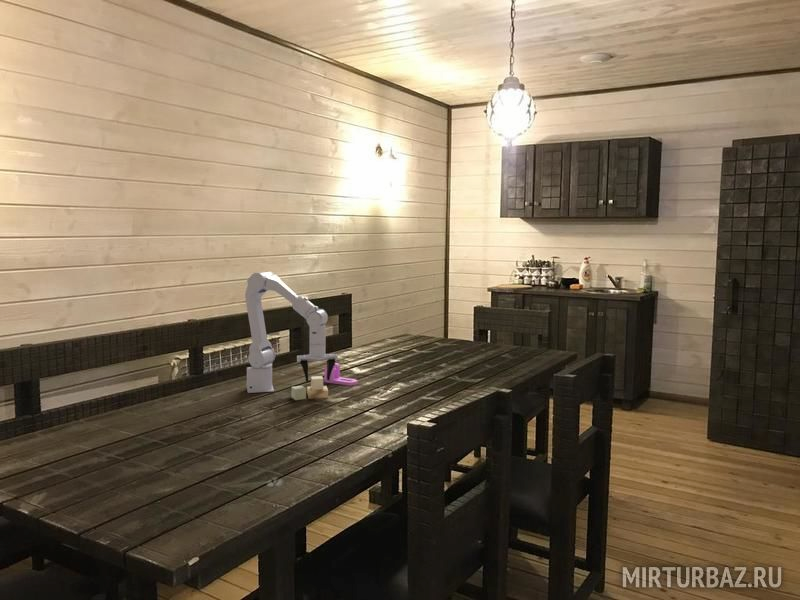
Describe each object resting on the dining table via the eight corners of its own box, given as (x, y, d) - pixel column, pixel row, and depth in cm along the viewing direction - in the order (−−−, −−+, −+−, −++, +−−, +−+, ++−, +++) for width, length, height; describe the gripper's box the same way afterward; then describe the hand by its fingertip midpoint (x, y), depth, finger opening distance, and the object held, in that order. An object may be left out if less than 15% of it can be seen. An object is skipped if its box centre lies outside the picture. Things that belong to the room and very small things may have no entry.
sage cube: (295, 400, 224) (295, 389, 224) (291, 397, 228) (291, 386, 227) (306, 399, 226) (306, 388, 226) (302, 396, 230) (302, 385, 229)
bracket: (324, 382, 251) (324, 364, 250) (332, 379, 256) (332, 362, 255) (352, 386, 245) (352, 368, 244) (359, 383, 250) (360, 366, 249)
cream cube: (312, 390, 228) (312, 379, 228) (311, 387, 232) (310, 376, 232) (323, 389, 229) (323, 378, 229) (322, 386, 233) (321, 375, 232)
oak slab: (308, 399, 227) (308, 391, 226) (307, 394, 233) (307, 386, 233) (328, 398, 228) (328, 390, 228) (326, 393, 235) (326, 385, 235)
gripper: (298, 346, 223) (298, 384, 224) (339, 344, 227) (339, 381, 228) (296, 342, 230) (296, 379, 231) (336, 341, 233) (336, 377, 235)
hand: (317, 380), depth 230 cm, fingers open, 7 cm apart
